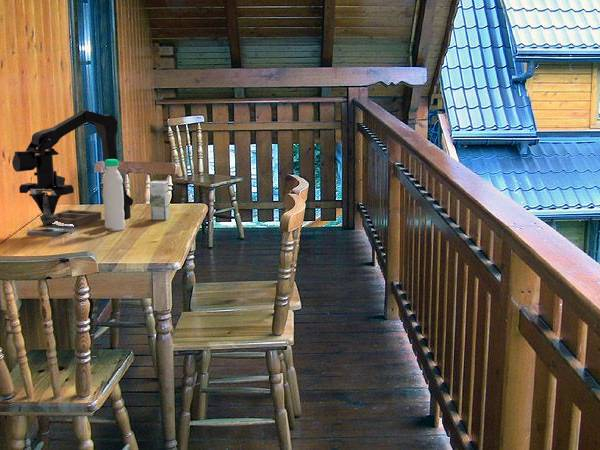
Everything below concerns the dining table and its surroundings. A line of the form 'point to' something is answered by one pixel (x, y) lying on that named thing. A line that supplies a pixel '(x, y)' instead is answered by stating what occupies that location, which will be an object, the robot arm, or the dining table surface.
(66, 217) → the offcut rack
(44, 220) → the grey turned upright piece
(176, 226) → the dining table surface
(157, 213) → the syrup box
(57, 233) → the slate pad
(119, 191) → the white bottle
